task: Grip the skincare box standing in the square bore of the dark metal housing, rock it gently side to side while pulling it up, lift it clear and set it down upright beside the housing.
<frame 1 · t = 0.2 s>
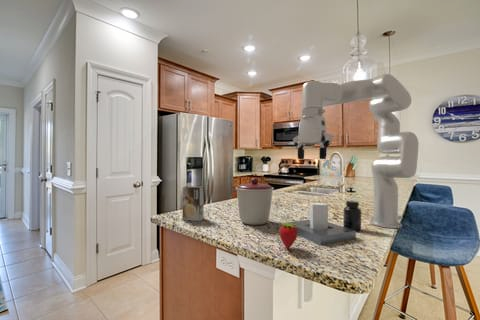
hand: (311, 158, 89), 30 cm above the counter, tool pointing down, fingers open, 9 cm apart
strawberry: (288, 249, 77), on the counter
canister: (254, 222, 110), on the counter
skincare box: (318, 234, 93), resting in housing
supplement bottle: (352, 229, 100), on the counter
housing: (318, 233, 93), on the counter
coffee box: (193, 219, 115), on the counter
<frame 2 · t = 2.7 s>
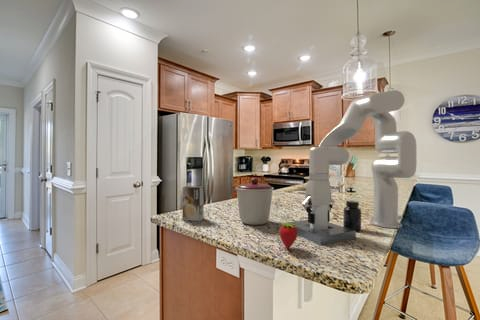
hand: (318, 221, 93), 5 cm above the counter, tool pointing down, fingers closed on skincare box, 7 cm apart
skincare box: (318, 234, 93), resting in housing, touching gripper
everything else where it was.
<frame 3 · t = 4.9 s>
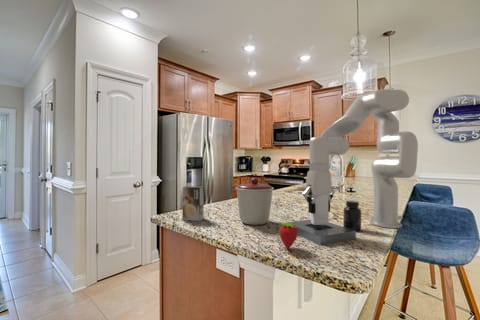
hand: (319, 211, 93), 9 cm above the counter, tool pointing down, fingers closed on skincare box, 7 cm apart
skincare box: (319, 224, 93), point 4 cm above the counter, touching gripper
everything else where it was.
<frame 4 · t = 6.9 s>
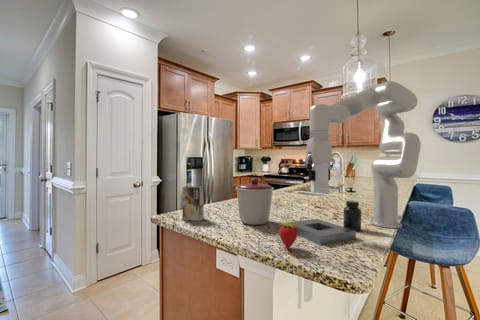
hand: (319, 180, 93), 22 cm above the counter, tool pointing down, fingers closed on skincare box, 7 cm apart
skincare box: (319, 192, 93), point 16 cm above the counter, touching gripper
everything else where it was.
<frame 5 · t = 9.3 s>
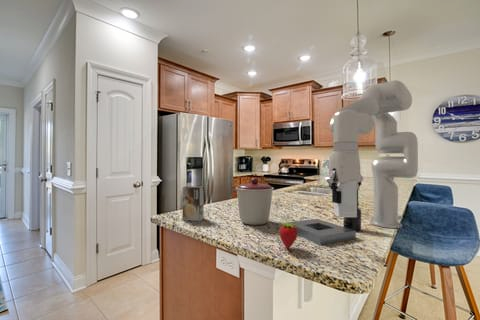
hand: (345, 201, 77), 16 cm above the counter, tool pointing down, fingers closed on skincare box, 7 cm apart
skincare box: (344, 217, 77), point 11 cm above the counter, touching gripper
everything else where it was.
when the fingers open (6 cm above the counter, at t = 11.5 s): skincare box drops 1 cm, on the counter.
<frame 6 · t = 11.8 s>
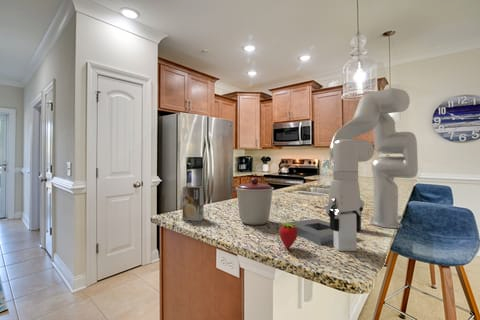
hand: (345, 228, 77), 7 cm above the counter, tool pointing down, fingers open, 9 cm apart
skincare box: (344, 249, 77), on the counter
everything else where it was.
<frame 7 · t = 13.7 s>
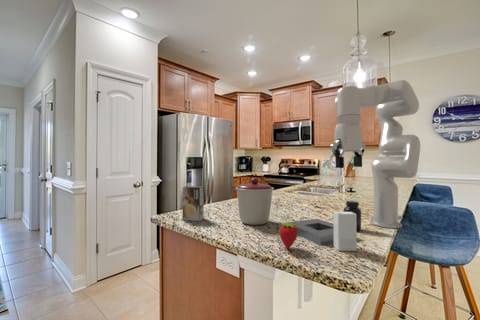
hand: (349, 167, 86), 27 cm above the counter, tool pointing down, fingers open, 9 cm apart
nothing on the counter moved.
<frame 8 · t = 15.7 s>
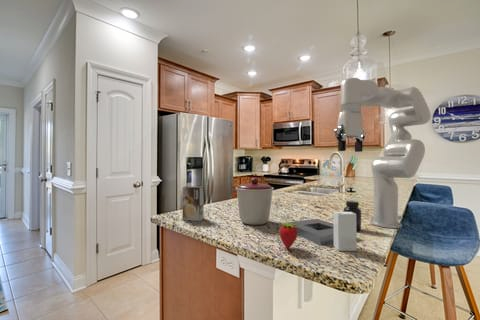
hand: (350, 151, 95), 33 cm above the counter, tool pointing down, fingers open, 9 cm apart
nothing on the counter moved.
at the end: skincare box inside the target area on the counter beside the housing (0.4 cm from its centre), on the counter; skincare box tilted 0°; the gripper is holding nothing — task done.
